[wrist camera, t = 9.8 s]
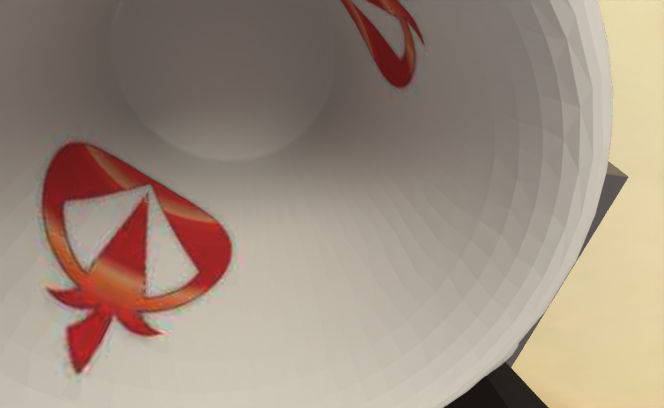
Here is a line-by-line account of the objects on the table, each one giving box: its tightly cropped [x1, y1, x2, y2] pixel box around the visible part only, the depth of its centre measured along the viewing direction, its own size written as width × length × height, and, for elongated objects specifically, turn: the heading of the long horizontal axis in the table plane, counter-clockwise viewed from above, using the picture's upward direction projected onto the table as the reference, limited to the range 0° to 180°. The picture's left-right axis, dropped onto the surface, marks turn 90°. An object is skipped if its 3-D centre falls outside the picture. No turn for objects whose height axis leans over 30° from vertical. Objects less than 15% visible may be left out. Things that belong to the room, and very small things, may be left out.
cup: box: [0, 0, 613, 408], centre depth 8 cm, size 11×8×8 cm
